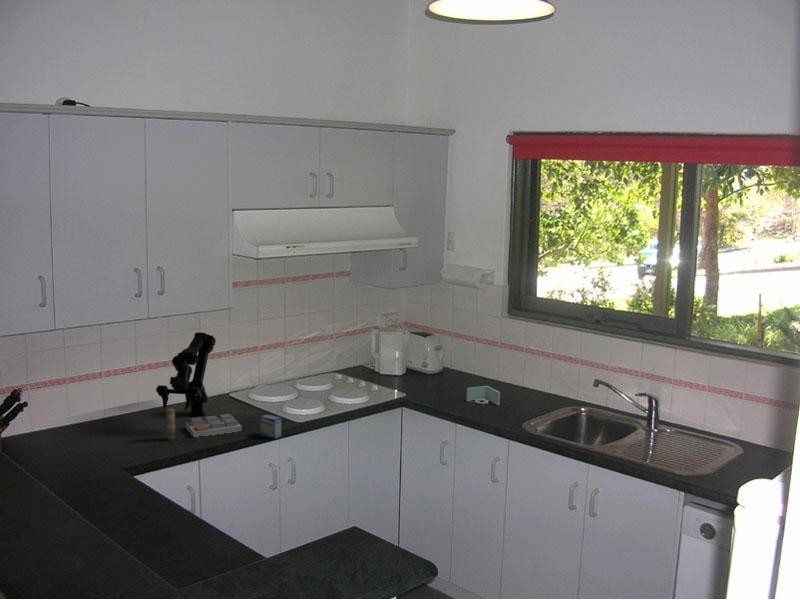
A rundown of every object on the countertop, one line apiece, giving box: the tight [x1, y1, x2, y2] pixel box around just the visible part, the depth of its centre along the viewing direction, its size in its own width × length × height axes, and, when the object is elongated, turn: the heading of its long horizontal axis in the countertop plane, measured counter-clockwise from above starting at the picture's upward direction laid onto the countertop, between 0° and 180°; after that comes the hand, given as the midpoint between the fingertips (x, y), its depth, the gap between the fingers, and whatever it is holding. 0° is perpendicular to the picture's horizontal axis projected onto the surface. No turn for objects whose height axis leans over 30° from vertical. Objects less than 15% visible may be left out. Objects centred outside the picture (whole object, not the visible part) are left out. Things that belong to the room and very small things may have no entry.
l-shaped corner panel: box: [465, 385, 501, 406], centre depth 411 cm, size 12×12×8 cm
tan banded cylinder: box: [165, 408, 176, 441], centre depth 348 cm, size 4×4×13 cm
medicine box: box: [260, 414, 282, 440], centre depth 357 cm, size 8×4×9 cm, turn 62°
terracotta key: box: [194, 425, 207, 432], centre depth 356 cm, size 4×4×3 cm
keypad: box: [185, 413, 243, 438], centre depth 362 cm, size 13×21×5 cm, turn 118°
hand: (174, 409), depth 352 cm, fingers open, 9 cm apart
